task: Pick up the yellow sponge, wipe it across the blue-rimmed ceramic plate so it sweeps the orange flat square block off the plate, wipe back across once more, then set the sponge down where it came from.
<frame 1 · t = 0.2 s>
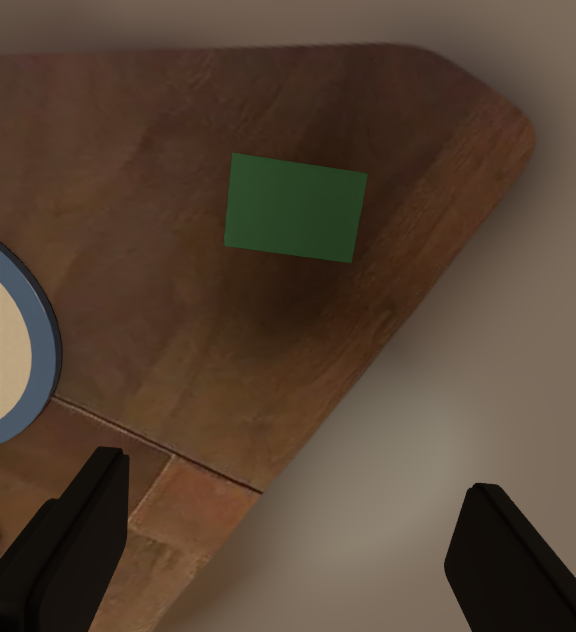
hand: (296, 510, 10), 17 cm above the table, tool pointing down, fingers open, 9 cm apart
sponge: (291, 210, 25), on the table
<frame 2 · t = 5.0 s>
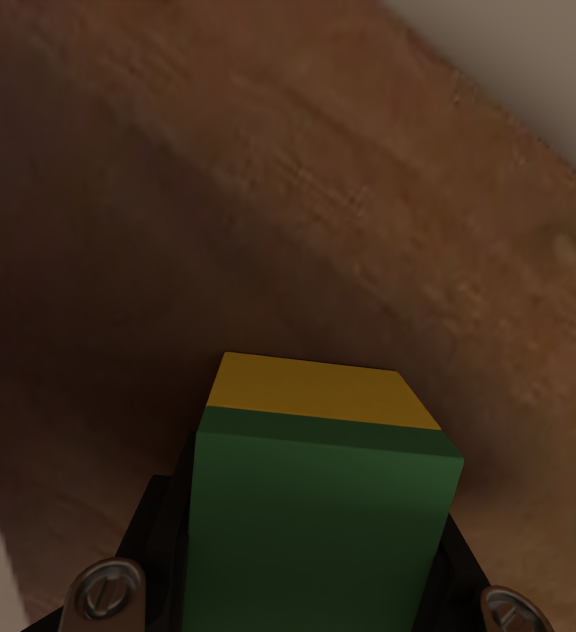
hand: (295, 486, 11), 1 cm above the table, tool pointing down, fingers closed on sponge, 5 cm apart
sponge: (293, 472, 12), on the table, touching gripper
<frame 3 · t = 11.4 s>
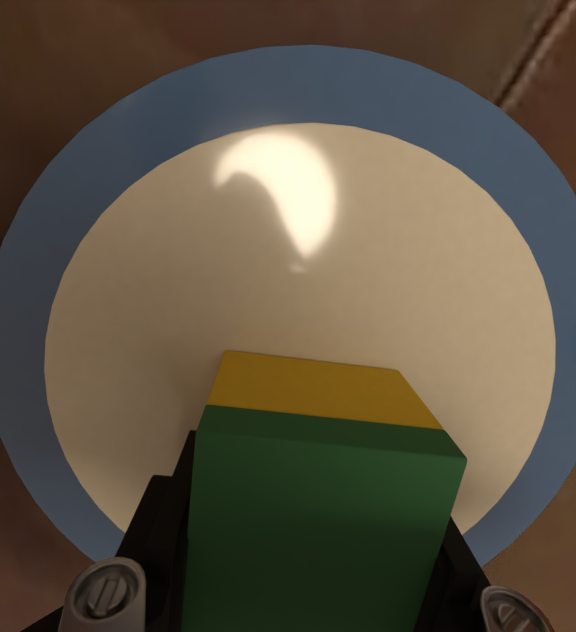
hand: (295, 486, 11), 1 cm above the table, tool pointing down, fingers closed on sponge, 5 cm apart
plate: (303, 388, 12), on the table
sponge: (294, 471, 12), point 1 cm above the table, touching gripper
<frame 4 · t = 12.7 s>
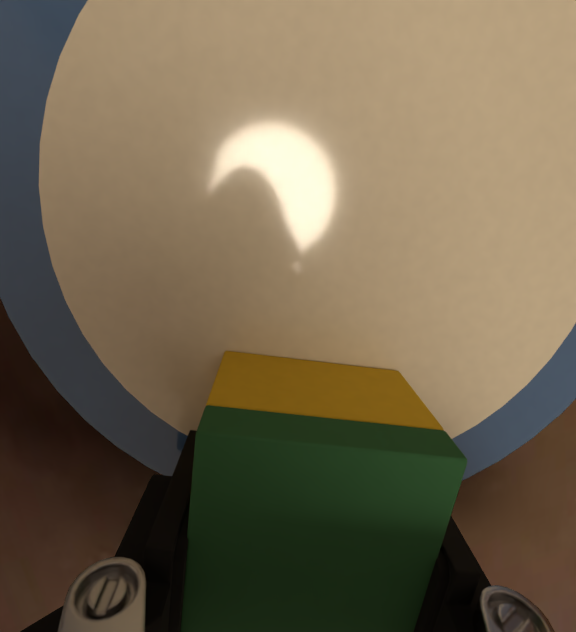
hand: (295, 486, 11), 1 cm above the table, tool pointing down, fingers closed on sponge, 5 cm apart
plate: (332, 226, 10), on the table
sponge: (294, 472, 11), point 1 cm above the table, touching gripper
when the fingers open (0 cm above the table, at t = 24.7 s): sponge stays where it is, on the table.
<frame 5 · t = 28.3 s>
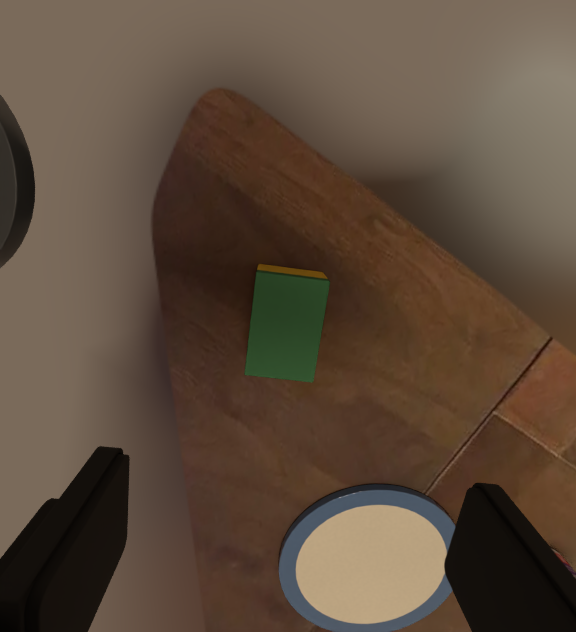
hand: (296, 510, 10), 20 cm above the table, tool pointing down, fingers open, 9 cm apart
plate: (369, 560, 37), on the table
sponge: (284, 314, 30), on the table
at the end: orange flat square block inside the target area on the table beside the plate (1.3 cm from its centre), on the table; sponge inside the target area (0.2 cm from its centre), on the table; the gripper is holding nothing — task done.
